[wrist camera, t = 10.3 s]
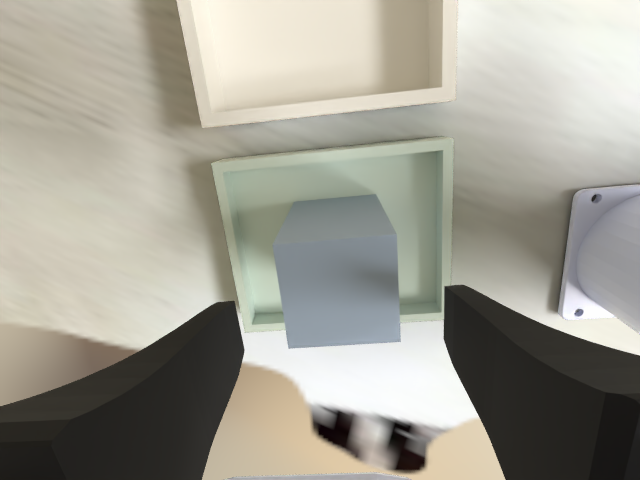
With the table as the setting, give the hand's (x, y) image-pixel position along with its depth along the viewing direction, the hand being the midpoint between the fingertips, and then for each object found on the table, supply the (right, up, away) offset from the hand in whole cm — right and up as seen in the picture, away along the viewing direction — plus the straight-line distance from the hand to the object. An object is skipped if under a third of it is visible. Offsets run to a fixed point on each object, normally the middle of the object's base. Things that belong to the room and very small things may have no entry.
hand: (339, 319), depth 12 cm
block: (0, +3, +8) cm, 9 cm away
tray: (0, +3, +9) cm, 9 cm away
